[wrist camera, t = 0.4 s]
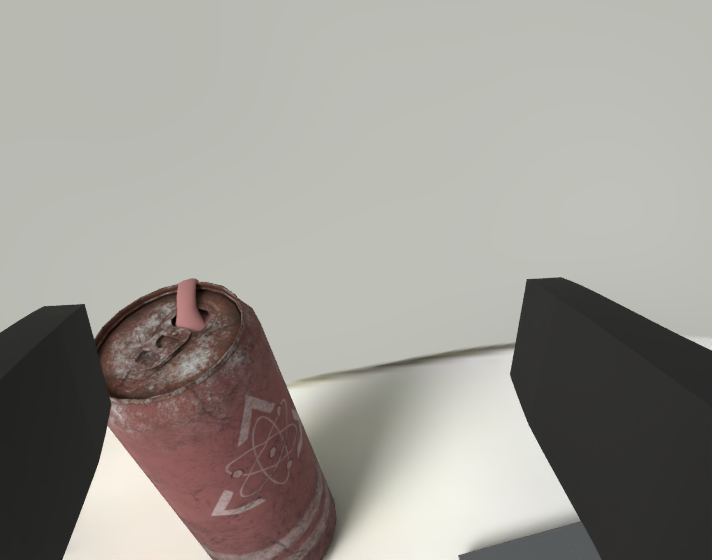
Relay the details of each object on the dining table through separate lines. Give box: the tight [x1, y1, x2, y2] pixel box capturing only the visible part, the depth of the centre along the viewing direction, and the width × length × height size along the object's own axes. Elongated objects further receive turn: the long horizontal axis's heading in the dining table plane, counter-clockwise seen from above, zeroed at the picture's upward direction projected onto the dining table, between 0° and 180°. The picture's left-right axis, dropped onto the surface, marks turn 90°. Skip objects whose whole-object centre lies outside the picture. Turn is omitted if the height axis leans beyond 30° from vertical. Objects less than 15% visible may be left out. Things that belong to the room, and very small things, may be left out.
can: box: [94, 279, 336, 560], centre depth 24 cm, size 6×6×14 cm
